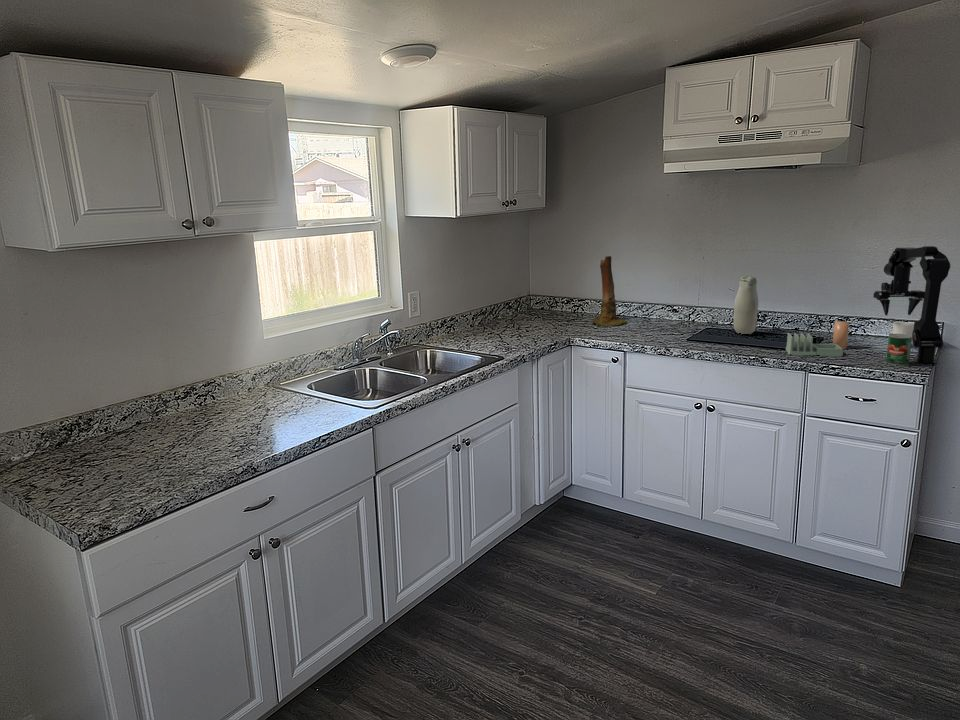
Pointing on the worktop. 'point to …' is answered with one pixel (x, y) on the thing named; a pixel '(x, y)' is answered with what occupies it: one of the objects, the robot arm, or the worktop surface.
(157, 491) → the worktop surface
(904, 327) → the white cup
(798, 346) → the dish rack
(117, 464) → the worktop surface
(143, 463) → the worktop surface
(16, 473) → the worktop surface
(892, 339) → the canned tomato
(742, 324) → the glass bottle
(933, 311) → the robot arm
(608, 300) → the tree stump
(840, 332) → the orange rounded blob
